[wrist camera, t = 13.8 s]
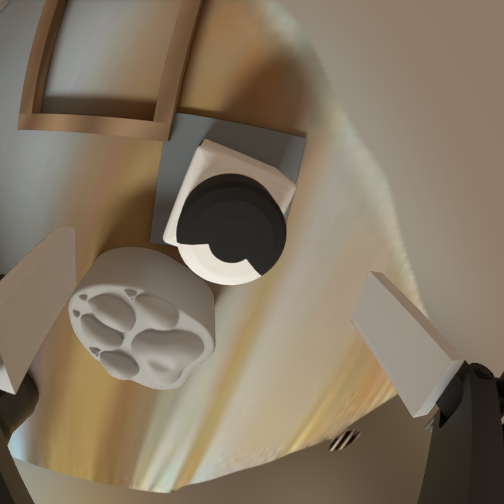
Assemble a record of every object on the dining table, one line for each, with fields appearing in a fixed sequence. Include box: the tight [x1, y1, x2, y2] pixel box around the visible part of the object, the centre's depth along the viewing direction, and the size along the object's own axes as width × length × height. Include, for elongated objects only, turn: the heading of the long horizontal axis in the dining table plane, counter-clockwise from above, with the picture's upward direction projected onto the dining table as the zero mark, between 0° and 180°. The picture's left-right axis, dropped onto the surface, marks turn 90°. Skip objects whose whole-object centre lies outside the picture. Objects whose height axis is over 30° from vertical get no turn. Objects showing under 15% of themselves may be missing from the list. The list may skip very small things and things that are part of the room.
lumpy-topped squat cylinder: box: [68, 247, 215, 390], centre depth 28 cm, size 10×13×9 cm
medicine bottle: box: [163, 139, 296, 285], centre depth 22 cm, size 7×7×12 cm
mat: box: [150, 112, 306, 247], centre depth 28 cm, size 12×12×1 cm
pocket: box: [18, 0, 204, 142], centre depth 21 cm, size 15×15×2 cm
